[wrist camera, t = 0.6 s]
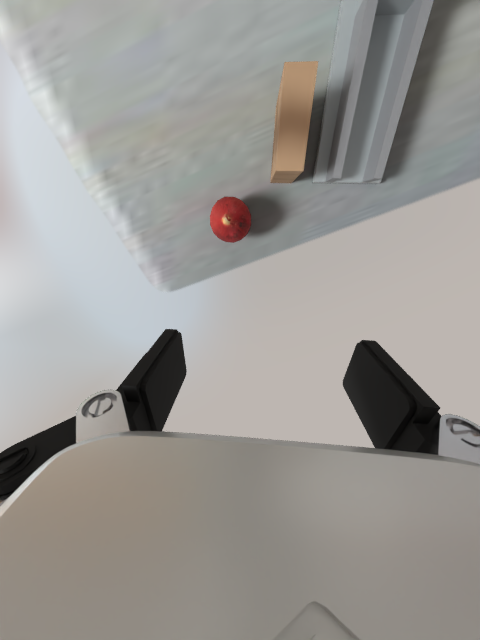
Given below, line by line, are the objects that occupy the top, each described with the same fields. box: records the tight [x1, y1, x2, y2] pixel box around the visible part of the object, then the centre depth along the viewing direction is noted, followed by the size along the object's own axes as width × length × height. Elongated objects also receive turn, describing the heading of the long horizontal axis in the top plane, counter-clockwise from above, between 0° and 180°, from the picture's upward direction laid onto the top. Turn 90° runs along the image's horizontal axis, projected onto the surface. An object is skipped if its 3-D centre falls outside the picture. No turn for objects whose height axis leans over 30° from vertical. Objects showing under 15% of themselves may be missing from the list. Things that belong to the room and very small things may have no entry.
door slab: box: [271, 61, 318, 183], centre depth 23 cm, size 8×3×8 cm, turn 179°
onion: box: [210, 197, 251, 243], centre depth 28 cm, size 6×6×8 cm
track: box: [312, 0, 434, 184], centre depth 21 cm, size 16×9×8 cm, turn 179°
